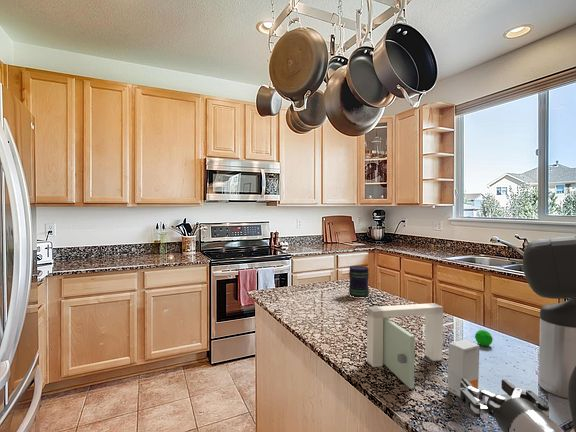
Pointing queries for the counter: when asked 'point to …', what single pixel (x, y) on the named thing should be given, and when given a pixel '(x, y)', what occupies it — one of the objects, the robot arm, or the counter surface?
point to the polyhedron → (483, 338)
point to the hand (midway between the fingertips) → (482, 382)
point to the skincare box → (462, 365)
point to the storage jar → (358, 281)
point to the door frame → (378, 313)
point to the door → (399, 351)
